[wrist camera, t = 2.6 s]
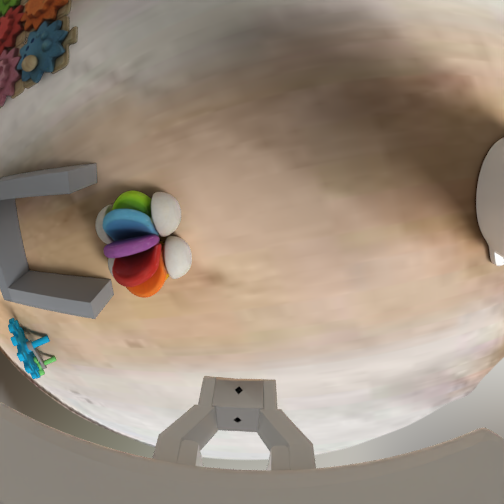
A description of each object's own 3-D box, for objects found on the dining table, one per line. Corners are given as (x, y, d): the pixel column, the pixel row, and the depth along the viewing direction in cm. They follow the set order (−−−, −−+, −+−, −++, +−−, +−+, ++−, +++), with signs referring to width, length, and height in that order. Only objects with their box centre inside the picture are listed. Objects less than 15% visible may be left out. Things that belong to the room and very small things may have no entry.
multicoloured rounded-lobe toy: (128, 279, 30) (99, 316, 23) (103, 195, 26) (62, 216, 20) (199, 271, 29) (183, 311, 23) (178, 177, 26) (150, 193, 19)
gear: (3, 308, 31) (7, 350, 25) (32, 296, 35) (41, 336, 29) (30, 354, 37) (41, 396, 31) (56, 343, 41) (70, 384, 35)
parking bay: (96, 163, 25) (67, 171, 20) (113, 294, 31) (95, 318, 26) (3, 176, 25) (-23, 186, 20) (24, 282, 31) (4, 299, 26)
